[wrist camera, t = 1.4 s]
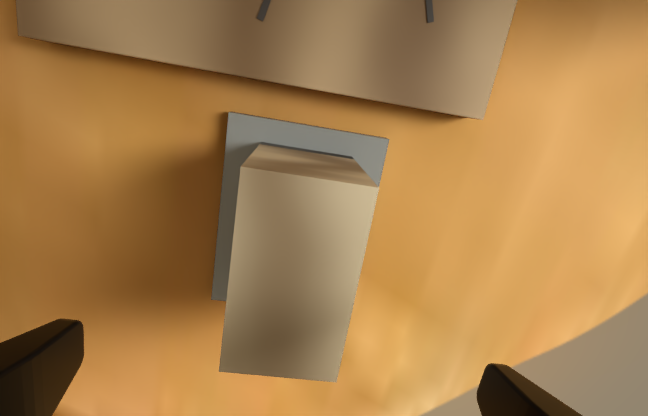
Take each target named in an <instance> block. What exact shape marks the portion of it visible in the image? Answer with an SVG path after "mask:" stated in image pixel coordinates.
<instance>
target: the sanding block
mask: <svg viewBox="0 0 648 416" xmlns="http://www.w3.org/2000/svg"><path fill="white" fill-rule="evenodd" d="M378 191H379V187H378V186H377V185H376V184H375V182H374V181H373V180H372V179H371V178H370V177H369V176H368V174H367V173H366V172H365V171H364V170H363V169H362V168H361V166H360V165H359V164H358V163H357V162H356V161H355V160H354V158H353V157H352V156H346V155H340V154H334V153H327V152H321V151H315V150H309V149H303V148H297V147H290V146H284V145H278V144H272V143H266V142H261V143H260V144H259V145H258V147H257V148H256V149H255V150H254V151H253V153H252V154H251V155H250V156H249V157H248V158H247V160H246V161H245V162H244V163H243V164H242V166H241V168H240V178H239V187H238V196H237V206H236V215H235V225H234V234H233V243H232V253H231V262H230V272H229V281H228V291H227V300H226V309H225V319H224V328H223V338H222V347H221V356H220V366H219V372H229V373H240V374H251V375H262V376H273V377H284V378H295V379H306V380H317V381H327V382H337V377H338V373H339V368H340V364H341V359H342V354H343V350H344V345H345V341H346V336H347V332H348V327H349V323H350V318H351V314H352V309H353V304H354V300H355V295H356V291H357V286H358V282H359V277H360V273H361V268H362V264H363V259H364V254H365V250H366V245H367V241H368V236H369V232H370V227H371V223H372V218H373V214H374V209H375V204H376V200H377V195H378Z"/></svg>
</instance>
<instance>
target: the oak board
mask: <svg viewBox="0 0 648 416" xmlns="http://www.w3.org/2000/svg"><path fill="white" fill-rule="evenodd" d="M516 4H517V0H16V10H17V26H18V35H19V36H23V37H28V38H32V39H37V40H41V41H46V42H52V43H57V44H63V45H68V46H74V47H79V48H85V49H90V50H96V51H101V52H107V53H112V54H118V55H123V56H129V57H134V58H140V59H145V60H151V61H156V62H162V63H167V64H173V65H178V66H184V67H190V68H195V69H201V70H206V71H212V72H217V73H223V74H228V75H234V76H239V77H245V78H250V79H256V80H261V81H267V82H272V83H278V84H283V85H289V86H294V87H300V88H305V89H311V90H316V91H322V92H327V93H333V94H339V95H344V96H350V97H355V98H361V99H366V100H372V101H377V102H383V103H388V104H394V105H399V106H405V107H410V108H416V109H421V110H427V111H432V112H438V113H443V114H449V115H454V116H460V117H465V118H473V119H481V120H483V118H484V115H485V111H486V108H487V105H488V101H489V98H490V94H491V91H492V87H493V84H494V80H495V77H496V73H497V70H498V66H499V63H500V59H501V56H502V52H503V49H504V45H505V42H506V39H507V35H508V32H509V28H510V25H511V21H512V18H513V14H514V11H515V7H516Z"/></svg>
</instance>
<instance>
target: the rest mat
mask: <svg viewBox="0 0 648 416" xmlns="http://www.w3.org/2000/svg"><path fill="white" fill-rule="evenodd" d="M261 142H266V143H272V144H278V145H284V146H290V147H297V148H303V149H309V150H315V151H321V152H327V153H334V154H340V155H346V156H352V157H353V158H354V160H355V161H356V162H357V163H358V164H359V165H360V166H361V168H362V169H363V170H364V171H365V172H366V173H367V174H368V176H369V177H370V178H371V179H372V180H373V181H374V182H375V184H376V185H377V186H378V187H379V184H380V179H381V175H382V170H383V166H384V161H385V156H386V152H387V147H388V143H389V139H387V138H383V137H377V136H371V135H365V134H359V133H353V132H348V131H342V130H336V129H330V128H324V127H318V126H312V125H306V124H300V123H295V122H289V121H283V120H277V119H271V118H265V117H259V116H253V115H248V114H242V113H236V112H229V114H228V125H227V136H226V147H225V157H224V168H223V179H222V190H221V200H220V211H219V222H218V233H217V244H216V254H215V265H214V276H213V287H212V297H211V300H220V301H226V300H227V291H228V281H229V272H230V262H231V253H232V243H233V234H234V225H235V215H236V206H237V196H238V187H239V178H240V168H241V166H242V164H243V163H244V162H245V161H246V160H247V158H248V157H249V156H250V155H251V154H252V153H253V151H254V150H255V149H256V148H257V147H258V145H259V144H260V143H261Z"/></svg>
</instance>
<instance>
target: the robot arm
mask: <svg viewBox="0 0 648 416" xmlns="http://www.w3.org/2000/svg"><path fill="white" fill-rule="evenodd" d="M83 357H84V330H83V324H82V322H80V321H79V320H70V319H58V320H55V321H53V322H50V323H48V324H45V325H43V326H40V327H38V328H36V329H33V330H31V331H28V332H26V333H23V334H21V335H19V336H16V337H14V338H11V339H9V340H6V341H4V342H2V343H0V416H52V415H53V413H54V411H55V410H56V408H57V406H58V404H59V403H60V401H61V399H62V397H63V396H64V394H65V392H66V390H67V389H68V387H69V385H70V383H71V382H72V380H73V378H74V376H75V375H76V373H77V371H78V369H79V368H80V366H81V363H82V361H83ZM477 402H478V405H479V408H480V411H481V414H482V416H582V415H581V414H579V413H578V412H576V411H575V410H573V409H572V408H570V407H569V406H567V405H566V404H564V403H563V402H561V401H560V400H558V399H557V398H555V397H554V396H552V395H551V394H549V393H548V392H546V391H545V390H543V389H542V388H540V387H538V386H537V385H535V384H534V383H533V382H531V381H530V380H528V379H527V378H525V377H524V376H522V375H521V374H519V373H518V372H516V371H515V370H513V369H512V368H510V367H509V366H507V365H503V364H494V363H491V364H488V365H487V366H486V368H485V370H484V373H483V376H482V379H481V381H480V384H479V387H478V390H477Z"/></svg>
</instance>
